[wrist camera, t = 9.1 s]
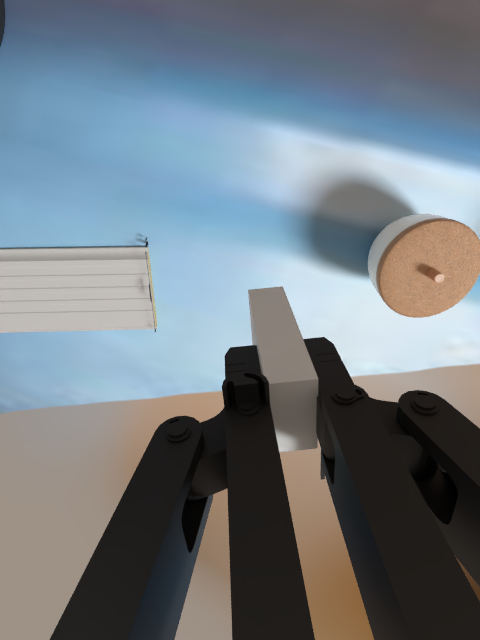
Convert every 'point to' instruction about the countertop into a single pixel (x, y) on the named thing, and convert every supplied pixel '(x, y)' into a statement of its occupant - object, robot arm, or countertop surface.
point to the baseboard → (76, 289)
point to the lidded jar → (424, 264)
